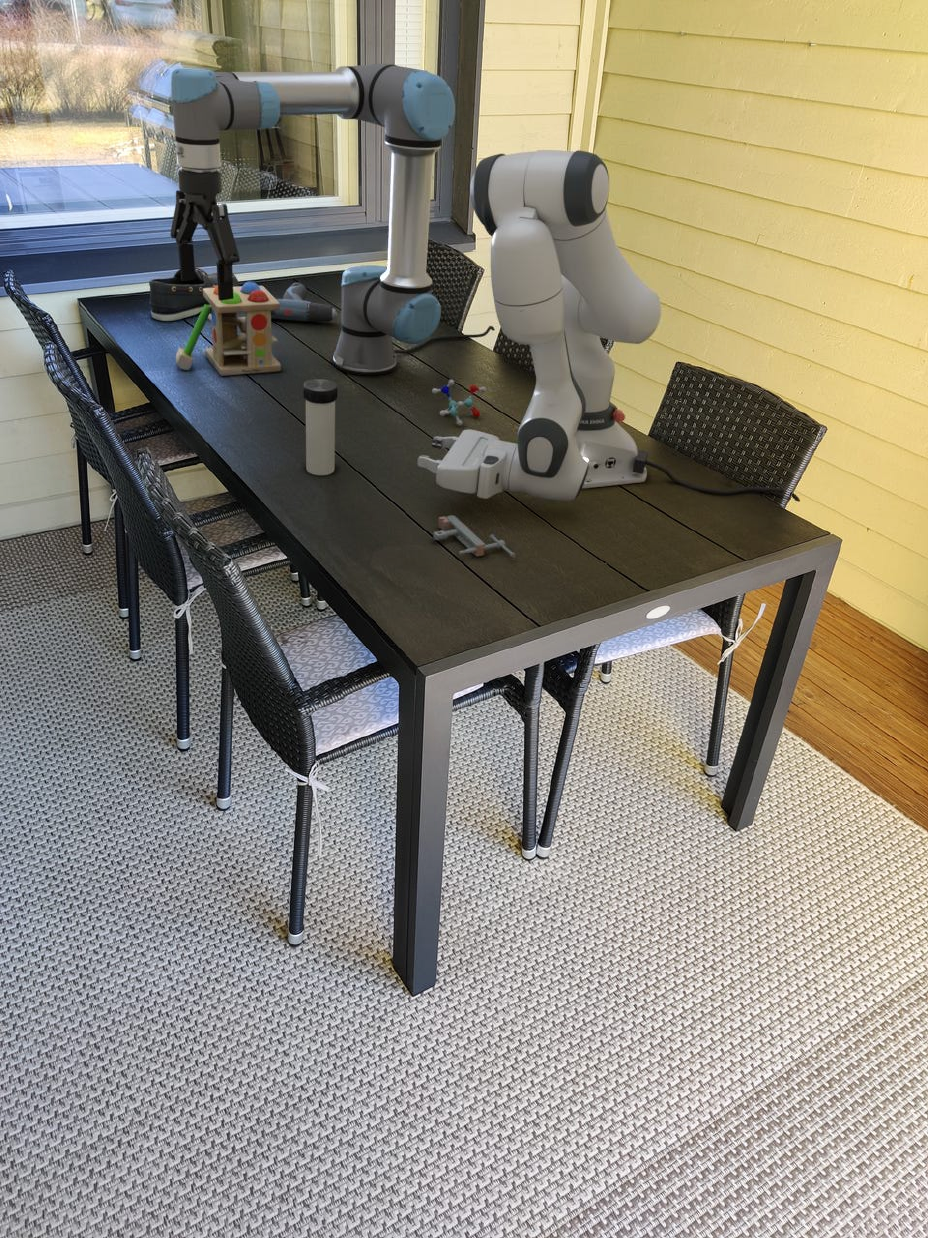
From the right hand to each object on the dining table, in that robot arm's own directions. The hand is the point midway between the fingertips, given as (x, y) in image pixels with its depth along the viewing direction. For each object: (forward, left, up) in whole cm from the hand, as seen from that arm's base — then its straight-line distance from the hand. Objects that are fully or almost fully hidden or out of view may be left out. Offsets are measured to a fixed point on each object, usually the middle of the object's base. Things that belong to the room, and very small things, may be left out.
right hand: (425, 450), depth 181 cm
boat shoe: (+46, -109, -8) cm, 118 cm away
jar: (+19, -9, -8) cm, 22 cm away
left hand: (+39, -29, +20) cm, 52 cm away
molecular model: (-12, -34, -8) cm, 37 cm away
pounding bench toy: (+37, -65, -8) cm, 75 cm away
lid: (+19, -9, +8) cm, 23 cm away
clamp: (-5, +21, -8) cm, 23 cm away
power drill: (+17, -105, -8) cm, 107 cm away
